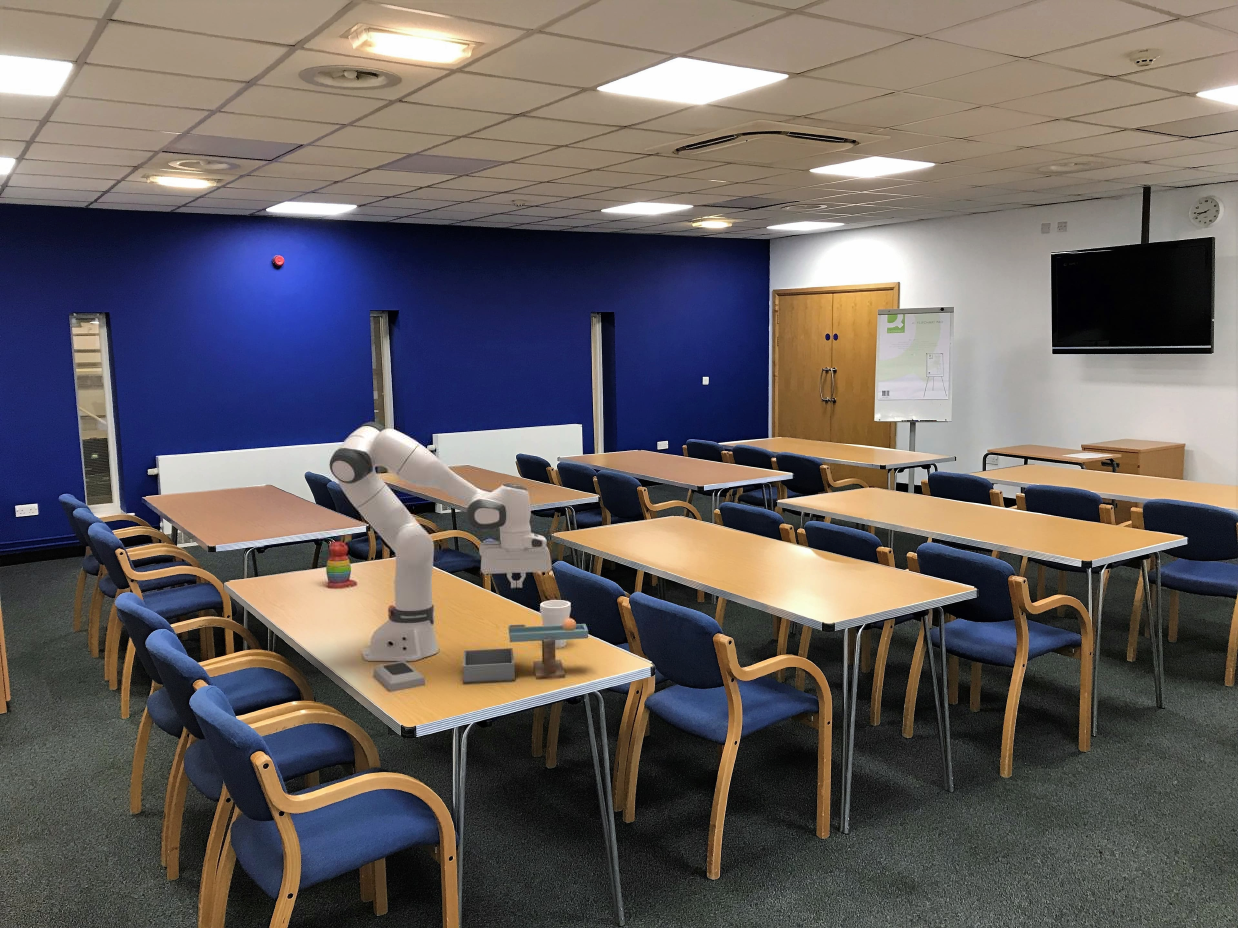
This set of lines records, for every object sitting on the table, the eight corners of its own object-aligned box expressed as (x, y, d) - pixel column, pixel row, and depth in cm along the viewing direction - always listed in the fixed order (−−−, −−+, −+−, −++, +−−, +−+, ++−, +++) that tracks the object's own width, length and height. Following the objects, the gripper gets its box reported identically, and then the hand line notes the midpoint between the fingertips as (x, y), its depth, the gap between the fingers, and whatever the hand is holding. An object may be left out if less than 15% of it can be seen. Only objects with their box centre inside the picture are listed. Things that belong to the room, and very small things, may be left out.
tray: (463, 683, 255) (462, 666, 255) (464, 667, 269) (463, 650, 268) (514, 680, 257) (514, 663, 257) (512, 664, 271) (512, 647, 270)
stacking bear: (359, 584, 368) (357, 540, 366) (339, 590, 360) (337, 545, 358) (340, 581, 374) (338, 538, 372) (320, 586, 365) (318, 542, 363)
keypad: (390, 679, 249) (373, 664, 262) (390, 692, 250) (373, 676, 262) (424, 673, 254) (406, 658, 267) (424, 686, 255) (406, 670, 267)
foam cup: (542, 650, 284) (541, 608, 283) (539, 641, 293) (538, 600, 292) (573, 648, 286) (572, 606, 285) (569, 639, 295) (568, 599, 294)
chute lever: (509, 642, 259) (509, 634, 259) (508, 628, 272) (508, 621, 272) (588, 638, 263) (588, 630, 262) (583, 625, 275) (583, 618, 275)
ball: (563, 634, 263) (562, 620, 262) (561, 630, 267) (561, 616, 266) (577, 633, 263) (576, 620, 263) (575, 629, 267) (575, 616, 267)
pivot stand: (536, 679, 258) (535, 639, 257) (533, 663, 271) (532, 626, 270) (564, 677, 260) (564, 638, 258) (560, 662, 272) (560, 625, 271)
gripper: (479, 543, 262) (480, 591, 263) (551, 541, 265) (552, 588, 266) (479, 539, 268) (480, 586, 270) (549, 536, 271) (550, 583, 273)
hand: (516, 587), depth 268 cm, fingers closed
